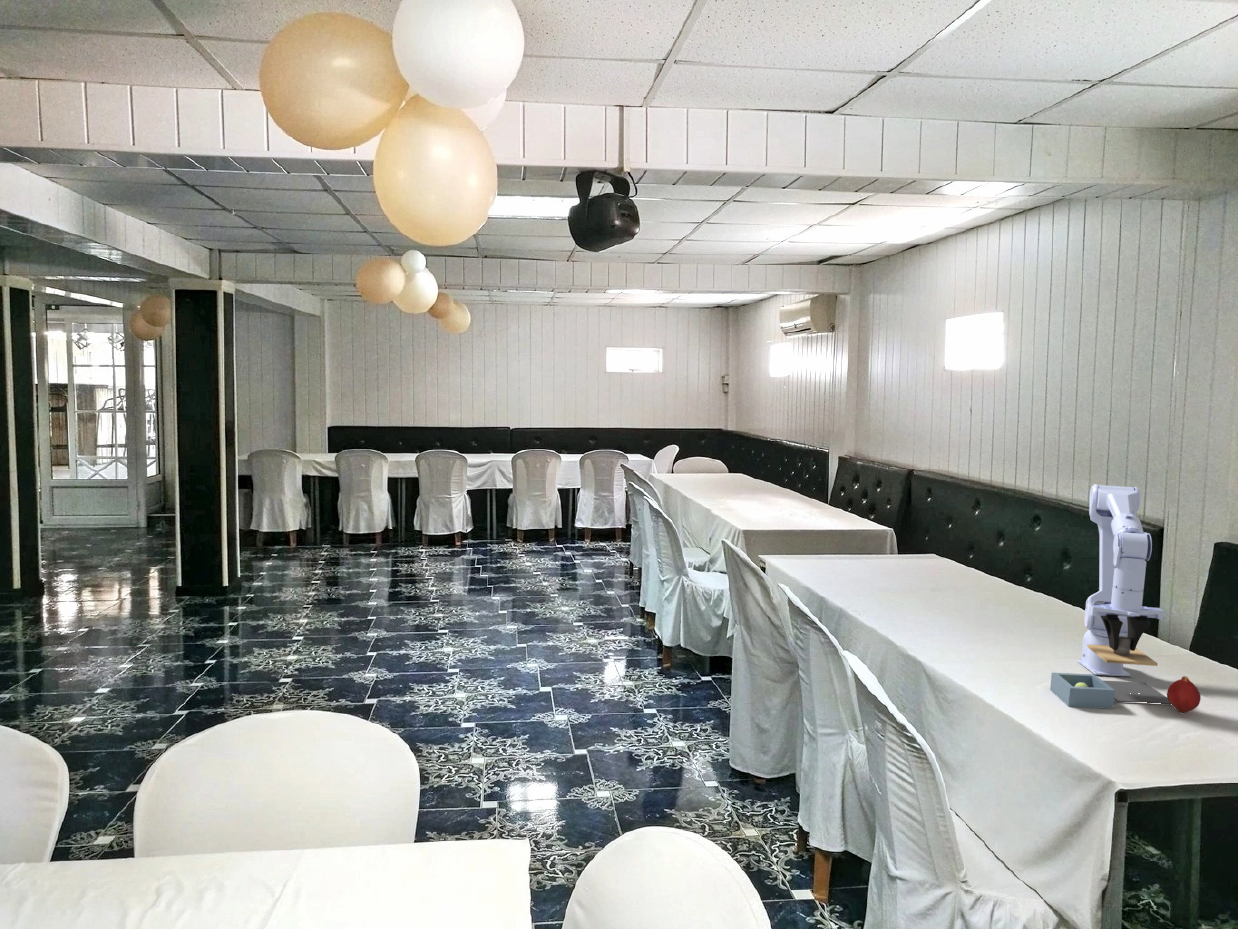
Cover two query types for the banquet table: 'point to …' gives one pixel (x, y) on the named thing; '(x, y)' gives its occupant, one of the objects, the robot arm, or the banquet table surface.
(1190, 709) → the pomegranate
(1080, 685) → the lime
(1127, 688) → the mat
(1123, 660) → the lid
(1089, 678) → the blue-grey square box
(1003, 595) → the banquet table surface
